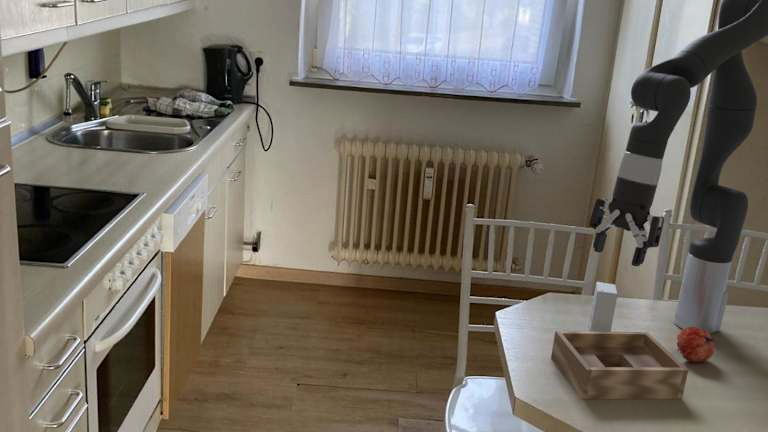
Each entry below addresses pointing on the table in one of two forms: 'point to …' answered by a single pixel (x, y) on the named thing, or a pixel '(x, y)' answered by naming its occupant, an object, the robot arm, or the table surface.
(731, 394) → the table surface
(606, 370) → the crate
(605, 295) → the skincare box
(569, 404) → the table surface
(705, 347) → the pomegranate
